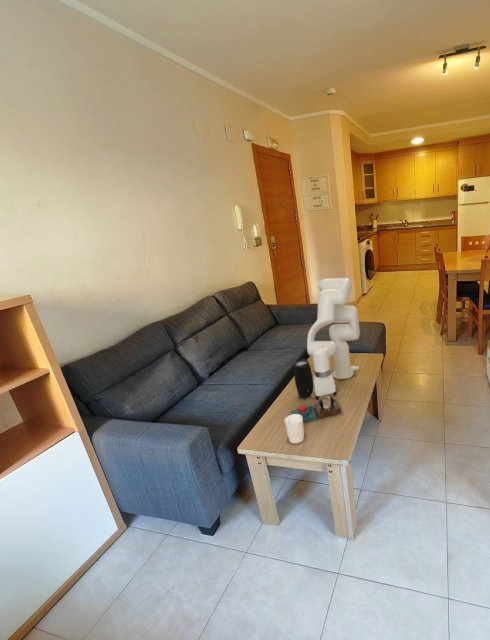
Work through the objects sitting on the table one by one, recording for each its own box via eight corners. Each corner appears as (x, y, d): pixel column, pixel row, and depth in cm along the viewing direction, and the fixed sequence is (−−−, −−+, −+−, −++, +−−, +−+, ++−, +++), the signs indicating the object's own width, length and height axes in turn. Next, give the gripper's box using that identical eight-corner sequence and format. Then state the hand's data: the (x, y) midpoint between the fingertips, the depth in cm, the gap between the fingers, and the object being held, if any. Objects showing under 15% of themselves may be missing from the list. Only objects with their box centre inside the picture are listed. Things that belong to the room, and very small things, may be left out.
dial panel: (336, 404, 173) (335, 398, 172) (340, 413, 164) (340, 407, 163) (315, 409, 170) (314, 403, 169) (318, 418, 162) (317, 413, 161)
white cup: (290, 446, 145) (286, 426, 141) (285, 436, 152) (282, 417, 148) (308, 440, 147) (304, 421, 144) (302, 430, 154) (299, 411, 151)
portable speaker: (314, 398, 180) (309, 364, 174) (297, 400, 180) (291, 367, 174) (314, 389, 188) (310, 357, 182) (297, 392, 188) (292, 360, 182)
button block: (313, 409, 170) (312, 402, 169) (316, 419, 162) (315, 412, 160) (291, 414, 167) (290, 407, 166) (293, 425, 159) (292, 417, 158)
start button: (305, 407, 165) (305, 404, 165) (307, 411, 162) (306, 408, 162) (298, 409, 165) (298, 406, 164) (299, 413, 161) (299, 410, 161)
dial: (330, 402, 169) (329, 394, 167) (332, 407, 165) (331, 398, 163) (321, 404, 168) (320, 396, 166) (323, 409, 164) (322, 400, 162)
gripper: (337, 365, 166) (341, 398, 172) (303, 372, 162) (308, 405, 168) (341, 372, 159) (345, 405, 165) (306, 379, 155) (311, 413, 161)
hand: (326, 405), depth 166 cm, fingers closed on dial, 4 cm apart
